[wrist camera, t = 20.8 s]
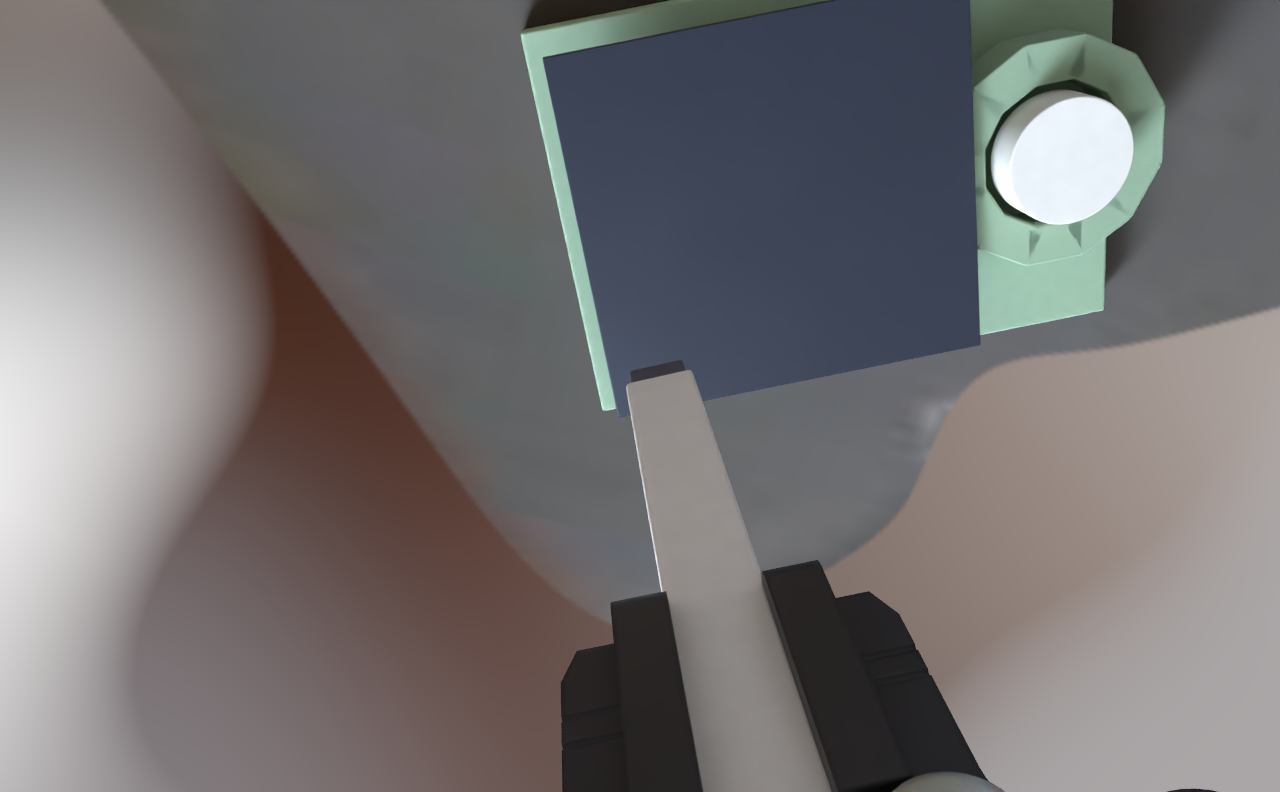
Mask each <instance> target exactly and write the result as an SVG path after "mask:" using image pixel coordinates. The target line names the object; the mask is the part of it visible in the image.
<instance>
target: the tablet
mask: <svg viewBox="0 0 1280 792" xmlns="http://www.w3.org/2000/svg"><path fill="white" fill-rule="evenodd" d="M822 1H827V0H669V1H664V2H659V3H654V4H649V5H644V6H639V7H634V8H629V9H624V10H619V11H614V12H609V13H604V14H599V15H594V16H589V17H584V18H579V19H574V20H569V21H564V22H559V23H554V24H549V25H544V26H538V27H533V28H528V29H524V30H522V32H521V39H522V44H523V48H524V53H525V57H526V62H527V66H528V71H529V76H530V80H531V85H532V89H533V94H534V99H535V103H536V108H537V112H538V117H539V121H540V126H541V131H542V135H543V140H544V144H545V149H546V154H547V158H548V163H549V167H550V172H551V176H552V181H553V186H554V190H555V195H556V199H557V204H558V209H559V213H560V218H561V222H562V227H563V231H564V236H565V241H566V245H567V250H568V254H569V259H570V264H571V268H572V273H573V277H574V282H575V286H576V291H577V296H578V300H579V305H580V309H581V314H582V319H583V323H584V328H585V332H586V337H587V341H588V346H589V351H590V355H591V360H592V364H593V369H594V374H595V378H596V383H597V387H598V392H599V397H600V401H601V406H602V409H603V410H604V411H606V410H611V409H616V405H615V400H614V395H613V391H612V386H611V381H610V376H609V372H608V367H607V362H606V357H605V353H604V348H603V343H602V339H601V334H600V329H599V324H598V320H597V315H596V310H595V305H594V301H593V296H592V291H591V286H590V282H589V277H588V272H587V268H586V263H585V258H584V253H583V249H582V244H581V239H580V234H579V230H578V225H577V220H576V215H575V211H574V206H573V201H572V196H571V192H570V187H569V182H568V178H567V173H566V168H565V163H564V159H563V154H562V149H561V144H560V140H559V135H558V130H557V125H556V121H555V116H554V111H553V106H552V102H551V97H550V92H549V88H548V83H547V78H546V73H545V69H544V64H543V57H545V56H550V55H555V54H560V53H565V52H570V51H575V50H580V49H585V48H590V47H596V46H601V45H606V44H611V43H616V42H621V41H626V40H631V39H636V38H641V37H646V36H651V35H656V34H661V33H666V32H671V31H676V30H681V29H686V28H691V27H696V26H701V25H706V24H711V23H716V22H721V21H726V20H731V19H736V18H741V17H746V16H751V15H756V14H761V13H766V12H771V11H776V10H781V9H786V8H791V7H796V6H802V5H807V4H812V3H817V2H822ZM1112 20H1113V0H970V21H971V54H972V87H973V119H974V152H975V185H976V217H977V250H978V283H979V315H980V335H983V334H988V333H993V332H998V331H1003V330H1008V329H1013V328H1018V327H1022V326H1027V325H1032V324H1037V323H1042V322H1047V321H1052V320H1057V319H1062V318H1067V317H1072V316H1077V315H1082V314H1087V313H1092V312H1097V311H1102V310H1104V304H1105V268H1106V237H1107V236H1108V235H1110V234H1111V233H1112V232H1114V231H1115V230H1116V229H1118V228H1119V227H1120V226H1122V225H1123V224H1124V223H1126V222H1127V221H1128V220H1130V219H1131V217H1132V216H1133V214H1134V213H1135V211H1136V209H1137V207H1138V206H1139V204H1140V202H1141V200H1142V198H1143V197H1144V195H1145V193H1146V191H1147V189H1148V188H1149V186H1150V184H1151V182H1152V180H1153V179H1154V177H1155V175H1156V173H1157V171H1158V170H1159V168H1160V166H1161V163H1162V161H1163V144H1164V124H1165V103H1164V100H1163V98H1162V97H1161V95H1160V93H1159V91H1158V90H1157V88H1156V86H1155V84H1154V83H1153V81H1152V79H1151V77H1150V76H1149V74H1148V72H1147V70H1146V68H1145V67H1144V65H1143V63H1142V61H1141V60H1140V58H1139V56H1137V54H1136V53H1134V52H1131V51H1129V50H1127V49H1124V48H1122V47H1120V46H1117V45H1115V44H1113V43H1112ZM1051 90H1072V91H1077V92H1080V93H1084V94H1088V95H1092V96H1095V97H1099V98H1102V99H1105V100H1107V101H1109V102H1111V103H1112V104H1113V105H1115V106H1116V107H1117V108H1118V109H1119V110H1120V111H1121V112H1122V113H1123V114H1124V116H1125V117H1126V119H1127V121H1128V123H1129V125H1130V127H1131V131H1132V134H1133V140H1134V153H1133V160H1132V164H1131V168H1130V171H1129V174H1128V176H1127V178H1126V180H1125V182H1124V184H1123V185H1122V187H1121V189H1120V190H1119V191H1118V193H1117V194H1116V195H1115V197H1114V198H1113V199H1112V200H1111V201H1110V202H1109V203H1108V204H1107V205H1106V206H1104V207H1103V208H1102V209H1101V210H1099V211H1098V212H1096V213H1095V214H1093V215H1091V216H1089V217H1087V218H1085V219H1083V220H1080V221H1077V222H1073V223H1068V224H1049V223H1045V222H1041V221H1039V220H1036V219H1034V218H1032V217H1030V216H1029V215H1027V214H1025V213H1023V212H1021V211H1020V210H1018V209H1016V208H1014V207H1013V206H1011V205H1010V204H1008V203H1007V202H1006V201H1005V200H1004V199H1003V198H1002V197H1001V195H1000V194H999V192H998V191H997V189H996V187H995V185H994V182H993V179H992V174H991V165H990V164H991V153H992V148H993V144H994V141H995V138H996V136H997V134H998V132H999V130H1000V128H1001V126H1002V125H1003V123H1004V122H1005V120H1006V119H1007V118H1008V117H1009V115H1010V114H1011V113H1012V112H1013V111H1014V110H1015V109H1016V108H1017V107H1019V106H1020V105H1021V104H1022V103H1024V102H1025V101H1027V100H1028V99H1030V98H1032V97H1034V96H1036V95H1038V94H1041V93H1044V92H1047V91H1051Z"/></svg>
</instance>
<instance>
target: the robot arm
mask: <svg viewBox="0 0 1280 792" xmlns="http://www.w3.org/2000/svg"><path fill="white" fill-rule="evenodd" d="M761 577H762V585H763V588H764V591H765V594H766V597H767V600H768V603H769V606H770V609H771V612H772V615H773V618H774V621H775V624H776V627H777V630H778V633H779V636H780V639H781V642H782V645H783V648H784V651H785V654H786V657H787V660H788V663H789V666H790V669H791V672H792V675H793V678H794V681H795V684H796V687H797V690H798V693H799V696H800V698H801V701H802V704H803V707H804V710H805V713H806V716H807V719H808V722H809V725H810V728H811V731H812V734H813V737H814V740H815V743H816V746H817V749H818V752H819V755H820V758H821V761H822V764H823V767H824V770H825V773H826V776H827V779H828V782H829V785H830V788H831V791H832V792H1005V791H1003V790H1002V789H1001V788H999V787H997V786H996V785H994V784H992V783H991V782H989V781H988V780H987V778H986V777H985V776H984V774H983V772H982V771H981V769H980V768H979V766H978V764H977V762H976V760H975V758H974V756H973V754H972V752H971V750H970V749H969V747H968V745H967V743H966V741H965V739H964V737H963V735H962V733H961V731H960V729H959V728H958V726H957V724H956V722H955V720H954V718H953V716H952V714H951V712H950V710H949V708H948V707H947V705H946V703H945V701H944V699H943V697H942V695H941V693H940V691H939V689H938V687H937V686H936V684H935V682H934V680H933V678H932V676H931V675H929V673H928V668H927V667H926V665H925V663H924V661H923V659H922V657H921V655H920V653H919V651H918V650H916V648H915V644H914V642H913V640H912V638H911V636H910V634H909V632H908V630H907V628H906V627H905V624H904V623H903V621H902V619H901V617H900V615H899V614H898V613H897V612H896V611H894V610H893V609H892V608H890V607H889V606H888V605H886V604H885V603H884V602H882V601H881V600H880V599H878V598H877V597H876V596H874V595H873V594H872V593H870V592H864V593H859V594H854V595H849V596H844V597H839V598H835V596H834V594H833V591H832V589H831V587H830V584H829V582H828V580H827V578H826V575H825V573H824V571H823V568H822V566H821V564H820V563H819V561H818V560H816V561H811V562H806V563H801V564H796V565H791V566H786V567H781V568H776V569H771V570H767V571H762V572H761ZM611 616H612V627H613V637H614V644H609V645H604V646H599V647H594V648H590V649H585V650H580V651H577V652H576V654H575V656H574V658H573V660H572V662H571V664H570V666H569V668H568V670H567V672H566V674H565V676H564V678H563V680H562V682H561V717H562V747H563V750H562V782H563V783H562V786H563V787H562V789H563V792H703V787H702V781H701V776H700V770H699V765H698V759H697V754H696V748H695V743H694V737H693V732H692V726H691V721H690V715H689V710H688V705H687V699H686V694H685V688H684V683H683V677H682V672H681V666H680V661H679V655H678V650H677V644H676V639H675V633H674V628H673V622H672V617H671V611H670V606H669V601H668V597H667V592H666V591H664V592H659V593H654V594H649V595H644V596H639V597H634V598H630V599H625V600H620V601H615V602H611ZM1168 792H1216V791H1212V790H1203V789H1179V790H1173V791H1168Z"/></svg>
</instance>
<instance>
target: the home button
mask: <svg viewBox="0 0 1280 792" xmlns="http://www.w3.org/2000/svg"><path fill="white" fill-rule="evenodd" d="M1133 153H1134V140H1133V134H1132V131H1131V127H1130V125H1129V123H1128V121H1127V119H1126V117H1125V116H1124V114H1123V113H1122V112H1121V111H1120V110H1119V109H1118V108H1117V107H1116V106H1115V105H1113V104H1112V103H1111V102H1109V101H1107V100H1105V99H1102V98H1099V97H1095V96H1092V95H1088V94H1084V93H1080V92H1077V91H1072V90H1051V91H1047V92H1044V93H1041V94H1038V95H1036V96H1034V97H1032V98H1030V99H1028V100H1027V101H1025V102H1024V103H1022V104H1021V105H1020V106H1019V107H1017V108H1016V109H1015V110H1014V111H1013V112H1012V113H1011V114H1010V115H1009V117H1008V118H1007V119H1006V120H1005V122H1004V123H1003V125H1002V126H1001V128H1000V130H999V132H998V134H997V136H996V138H995V141H994V144H993V148H992V153H991V164H990V165H991V174H992V179H993V182H994V185H995V187H996V189H997V191H998V192H999V194H1000V195H1001V197H1002V198H1003V199H1004V200H1005V201H1006V202H1007V203H1008V204H1010V205H1011V206H1013V207H1014V208H1016V209H1018V210H1020V211H1021V212H1023V213H1025V214H1027V215H1029V216H1030V217H1032V218H1034V219H1036V220H1039V221H1041V222H1045V223H1049V224H1068V223H1073V222H1077V221H1080V220H1083V219H1085V218H1087V217H1089V216H1091V215H1093V214H1095V213H1096V212H1098V211H1099V210H1101V209H1102V208H1103V207H1104V206H1106V205H1107V204H1108V203H1109V202H1110V201H1111V200H1112V199H1113V198H1114V197H1115V195H1116V194H1117V193H1118V191H1119V190H1120V189H1121V187H1122V185H1123V184H1124V182H1125V180H1126V178H1127V176H1128V174H1129V171H1130V168H1131V164H1132V160H1133Z"/></svg>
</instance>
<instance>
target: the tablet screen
mask: <svg viewBox="0 0 1280 792" xmlns="http://www.w3.org/2000/svg"><path fill="white" fill-rule="evenodd" d="M543 64H544V69H545V73H546V78H547V83H548V88H549V92H550V97H551V102H552V106H553V111H554V116H555V121H556V125H557V130H558V135H559V140H560V144H561V149H562V154H563V159H564V163H565V168H566V173H567V178H568V182H569V187H570V192H571V196H572V201H573V206H574V211H575V215H576V220H577V225H578V230H579V234H580V239H581V244H582V249H583V253H584V258H585V263H586V268H587V272H588V277H589V282H590V286H591V291H592V296H593V301H594V305H595V310H596V315H597V320H598V324H599V329H600V334H601V339H602V343H603V348H604V353H605V357H606V362H607V367H608V372H609V376H610V381H611V386H612V391H613V395H614V400H615V405H616V410H617V414H618V417H619V418H621V417H626V416H631V413H630V407H629V402H628V396H627V390H626V386H627V384H629V383H631V382H630V376H629V374H630V372H631V371H633V370H637V369H642V368H646V367H651V366H655V365H660V364H664V363H669V362H673V361H677V360H682V362H683V363H684V366H685V369H686V370H691V371H692V372H693V375H694V378H695V381H696V384H697V386H698V389H699V392H700V395H701V398H702V401H705V400H710V399H715V398H720V397H725V396H730V395H735V394H740V393H745V392H750V391H755V390H759V389H764V388H769V387H774V386H779V385H784V384H789V383H794V382H799V381H804V380H809V379H814V378H819V377H824V376H829V375H834V374H839V373H844V372H849V371H854V370H859V369H864V368H869V367H873V366H878V365H883V364H888V363H893V362H898V361H903V360H908V359H913V358H918V357H923V356H928V355H933V354H938V353H943V352H948V351H953V350H958V349H963V348H968V347H973V346H978V345H980V315H979V283H978V250H977V217H976V185H975V152H974V119H973V87H972V54H971V21H970V0H827V1H822V2H817V3H812V4H807V5H802V6H796V7H791V8H786V9H781V10H776V11H771V12H766V13H761V14H756V15H751V16H746V17H741V18H736V19H731V20H726V21H721V22H716V23H711V24H706V25H701V26H696V27H691V28H686V29H681V30H676V31H671V32H666V33H661V34H656V35H651V36H646V37H641V38H636V39H631V40H626V41H621V42H616V43H611V44H606V45H601V46H596V47H590V48H585V49H580V50H575V51H570V52H565V53H560V54H555V55H550V56H545V57H543Z"/></svg>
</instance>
